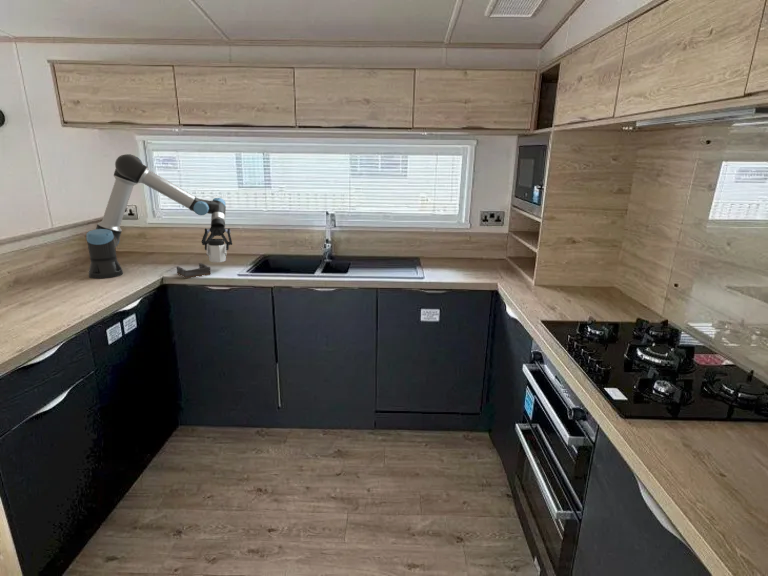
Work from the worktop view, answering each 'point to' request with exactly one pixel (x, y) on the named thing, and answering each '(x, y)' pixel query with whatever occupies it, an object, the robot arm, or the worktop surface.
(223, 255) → the jar
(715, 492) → the worktop surface
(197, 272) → the keeper bracket
